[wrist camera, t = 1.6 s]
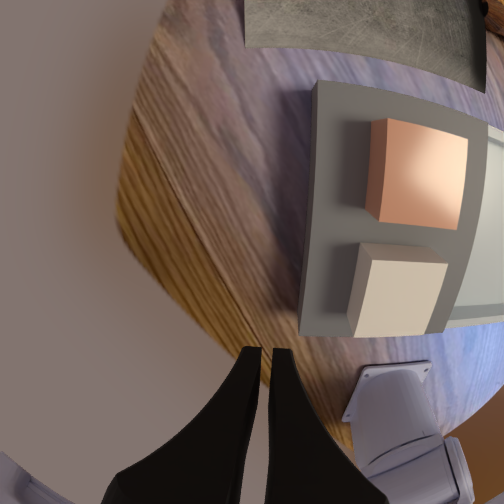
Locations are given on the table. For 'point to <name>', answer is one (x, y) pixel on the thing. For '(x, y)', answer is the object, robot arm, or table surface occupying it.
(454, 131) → the board
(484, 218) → the tray
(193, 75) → the table surface
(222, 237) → the table surface
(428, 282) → the tile white
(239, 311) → the table surface
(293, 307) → the table surface
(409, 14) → the meat cleaver
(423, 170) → the tile terracotta
